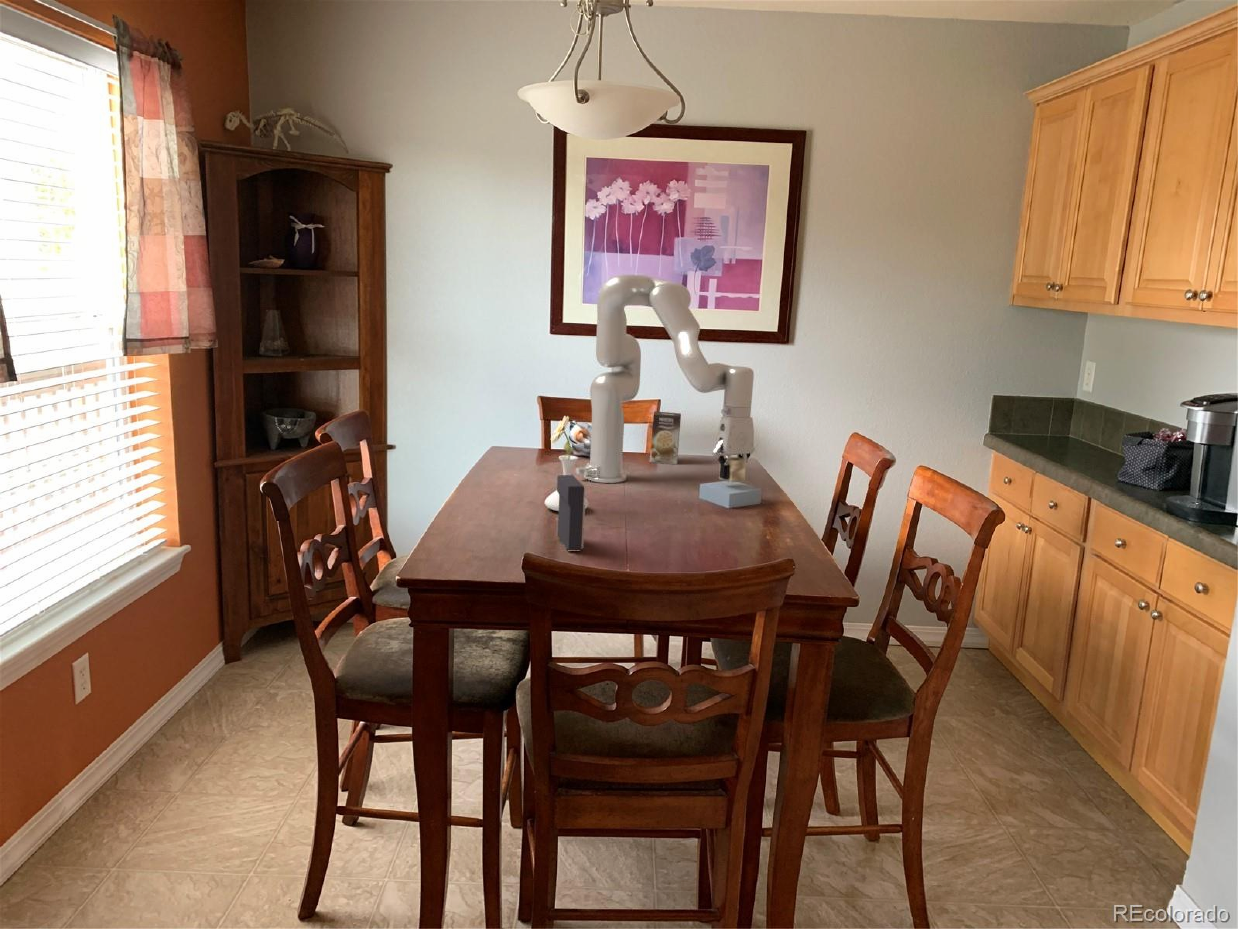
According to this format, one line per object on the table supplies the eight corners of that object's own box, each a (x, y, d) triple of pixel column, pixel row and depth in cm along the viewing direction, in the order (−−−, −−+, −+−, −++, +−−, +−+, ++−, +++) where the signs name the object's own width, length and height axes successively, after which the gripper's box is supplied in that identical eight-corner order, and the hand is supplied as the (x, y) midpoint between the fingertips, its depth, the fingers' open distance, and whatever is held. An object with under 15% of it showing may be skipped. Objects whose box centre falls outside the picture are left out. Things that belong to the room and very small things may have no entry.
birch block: (731, 482, 248) (732, 460, 247) (718, 478, 252) (720, 457, 250) (744, 480, 251) (746, 459, 249) (732, 476, 255) (733, 455, 253)
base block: (728, 508, 244) (729, 493, 244) (699, 497, 254) (700, 484, 253) (760, 503, 251) (761, 489, 251) (730, 493, 261) (731, 480, 260)
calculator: (584, 552, 201) (587, 486, 198) (565, 552, 200) (568, 486, 197) (572, 537, 211) (575, 474, 208) (554, 538, 210) (557, 474, 207)
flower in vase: (551, 502, 241) (554, 408, 236) (593, 506, 239) (597, 412, 234) (536, 514, 229) (540, 416, 223) (580, 519, 227) (585, 420, 221)
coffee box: (649, 462, 296) (652, 413, 293) (650, 458, 303) (653, 410, 299) (677, 464, 295) (680, 415, 292) (678, 460, 302) (681, 412, 298)
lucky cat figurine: (617, 458, 300) (607, 424, 292) (584, 473, 297) (573, 439, 289) (599, 437, 312) (590, 404, 303) (567, 451, 309) (557, 418, 301)
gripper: (722, 416, 239) (717, 483, 243) (769, 412, 249) (763, 477, 253) (704, 411, 245) (699, 477, 249) (749, 408, 255) (744, 471, 259)
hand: (731, 476), depth 251 cm, fingers closed on birch block, 5 cm apart
